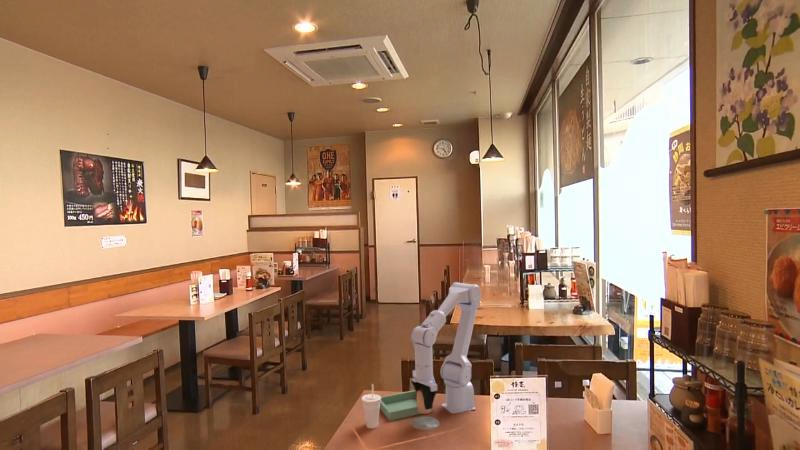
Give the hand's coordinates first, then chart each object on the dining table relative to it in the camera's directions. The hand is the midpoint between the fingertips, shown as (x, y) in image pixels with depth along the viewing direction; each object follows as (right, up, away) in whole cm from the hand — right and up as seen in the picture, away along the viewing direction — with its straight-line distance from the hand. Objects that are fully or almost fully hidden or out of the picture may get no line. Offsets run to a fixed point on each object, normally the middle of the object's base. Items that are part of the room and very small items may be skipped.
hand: (424, 405), depth 141 cm
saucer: (0, -7, 0) cm, 6 cm away
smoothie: (-17, -7, 0) cm, 19 cm away
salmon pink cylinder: (0, -2, 0) cm, 2 cm away
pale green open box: (-7, -6, +11) cm, 15 cm away
